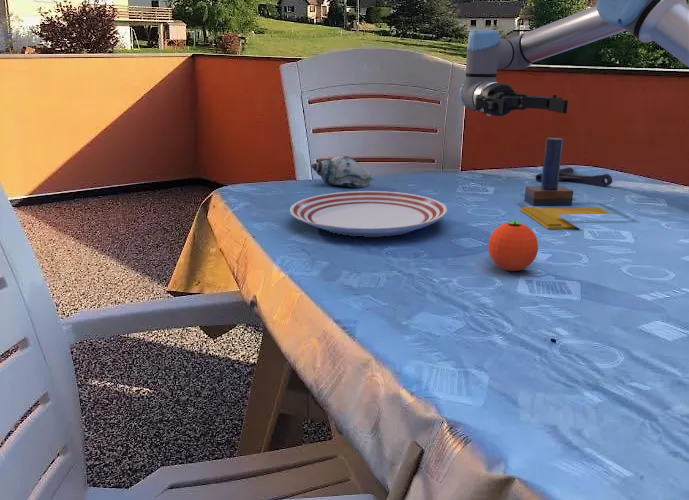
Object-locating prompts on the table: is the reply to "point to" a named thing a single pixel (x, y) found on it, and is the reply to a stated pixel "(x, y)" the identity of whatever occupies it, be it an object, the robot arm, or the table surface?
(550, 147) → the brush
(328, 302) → the table surface
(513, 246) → the clementine
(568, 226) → the yellow carpenter square
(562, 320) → the table surface
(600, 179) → the bracket
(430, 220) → the dinner plate
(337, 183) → the seashell
